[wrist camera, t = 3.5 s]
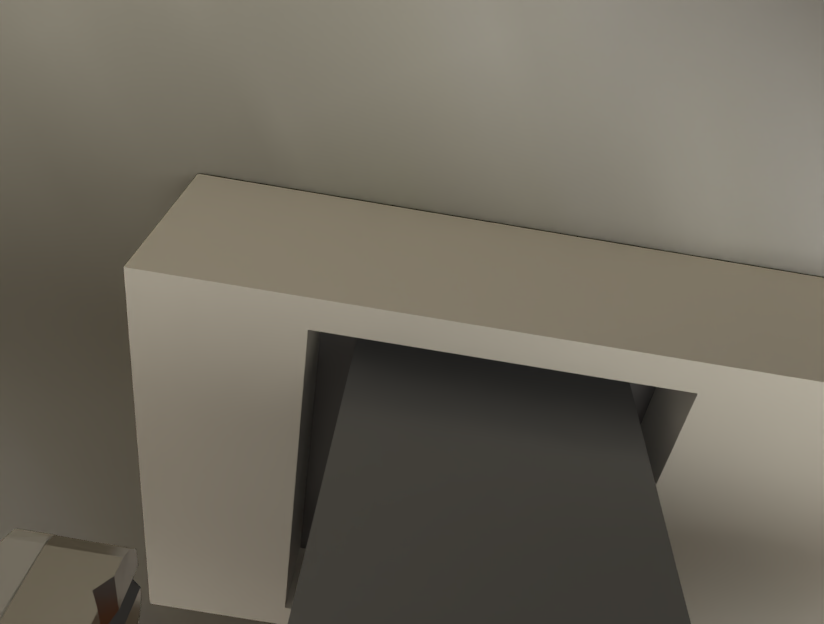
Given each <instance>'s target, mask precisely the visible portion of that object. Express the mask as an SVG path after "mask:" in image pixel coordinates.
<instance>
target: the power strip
mask: <svg viewBox="0 0 824 624" xmlns="http://www.w3.org/2000/svg"><path fill="white" fill-rule="evenodd" d="M124 279H125V291H126V304H127V317H128V330H129V342H130V355H131V368H132V381H133V393H134V406H135V419H136V432H137V445H138V457H139V470H140V483H141V496H142V508H143V521H144V534H145V547H146V559H147V572H148V585H149V598H150V604H156V605H162V606H168V607H175V608H181V609H187V610H194V611H200V612H206V613H212V614H219V615H225V616H231V617H237V618H244V619H250V620H256V621H263V622H269V623H275V624H288V620H289V616H290V612H291V608H292V604H293V600H294V596H295V591H296V587H297V583H298V579H299V575H300V571H301V567H302V563H303V559H304V554H305V550H306V546H307V542H308V538H309V534H310V530H311V526H312V522H313V517H314V513H315V509H316V505H317V501H318V497H319V493H320V489H321V484H322V480H323V476H324V472H325V468H326V464H327V460H328V456H329V452H330V447H331V443H332V439H333V435H334V431H335V427H336V423H337V419H338V415H339V410H340V406H341V402H342V398H343V394H344V390H345V386H346V382H347V378H348V373H349V369H350V365H351V361H352V357H353V353H354V349H355V345H356V341H357V338H362V339H368V340H374V341H380V342H386V343H393V344H399V345H405V346H411V347H417V348H423V349H429V350H435V351H441V352H447V353H453V354H460V355H466V356H472V357H478V358H484V359H490V360H496V361H502V362H508V363H514V364H520V365H527V366H533V367H539V368H545V369H551V370H557V371H563V372H569V373H575V374H581V375H587V376H594V377H600V378H606V379H612V380H618V381H624V382H630V386H631V390H632V394H633V398H634V402H635V406H636V410H637V414H638V418H639V422H640V426H641V429H642V433H643V437H644V441H645V445H646V449H647V453H648V457H649V461H650V465H651V469H652V473H653V477H654V481H655V485H656V488H657V492H658V496H659V500H660V504H661V508H662V512H663V516H664V520H665V524H666V528H667V532H668V536H669V540H670V543H671V547H672V551H673V555H674V559H675V563H676V567H677V571H678V575H679V579H680V583H681V587H682V591H683V595H684V599H685V602H686V606H687V610H688V614H689V618H690V622H691V624H824V278H822V277H816V276H810V275H804V274H798V273H792V272H786V271H780V270H774V269H768V268H762V267H756V266H750V265H744V264H738V263H732V262H726V261H719V260H713V259H707V258H701V257H695V256H689V255H683V254H677V253H671V252H665V251H659V250H653V249H647V248H641V247H635V246H629V245H623V244H617V243H611V242H605V241H599V240H593V239H587V238H581V237H575V236H569V235H563V234H557V233H551V232H545V231H539V230H533V229H527V228H521V227H515V226H509V225H503V224H497V223H491V222H485V221H479V220H473V219H467V218H461V217H455V216H449V215H443V214H437V213H431V212H425V211H419V210H413V209H407V208H401V207H395V206H389V205H383V204H377V203H371V202H365V201H359V200H353V199H347V198H341V197H335V196H329V195H323V194H317V193H311V192H305V191H299V190H293V189H287V188H281V187H275V186H269V185H263V184H257V183H251V182H245V181H239V180H233V179H227V178H221V177H215V176H209V175H203V174H197V175H196V177H195V178H194V179H193V180H192V182H191V183H190V184H189V185H188V187H187V188H186V189H185V190H184V192H183V193H182V194H181V196H180V197H179V198H178V199H177V201H176V202H175V203H174V204H173V206H172V207H171V208H170V209H169V211H168V212H167V213H166V214H165V216H164V217H163V218H162V219H161V221H160V222H159V223H158V224H157V226H156V227H155V228H154V229H153V231H152V232H151V233H150V234H149V236H148V237H147V238H146V240H145V241H144V242H143V243H142V245H141V246H140V247H139V248H138V250H137V251H136V252H135V253H134V255H133V256H132V257H131V258H130V260H129V261H128V262H127V263H126V265H125V266H124Z"/></svg>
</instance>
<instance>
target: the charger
mask: <svg viewBox="0 0 824 624" xmlns="http://www.w3.org/2000/svg"><path fill="white" fill-rule="evenodd" d="M288 624H691V622H690V618H689V614H688V610H687V606H686V602H685V599H684V595H683V591H682V587H681V583H680V579H679V575H678V571H677V567H676V563H675V559H674V555H673V551H672V547H671V543H670V540H669V536H668V532H667V528H666V524H665V520H664V516H663V512H662V508H661V504H660V500H659V496H658V492H657V488H656V485H655V481H654V477H653V473H652V469H651V465H650V461H649V457H648V453H647V449H646V445H645V441H644V437H643V433H642V429H641V426H640V422H639V418H638V414H637V410H636V406H635V402H634V398H633V394H632V390H631V386H630V382H624V381H618V380H612V379H606V378H600V377H594V376H587V375H581V374H575V373H569V372H563V371H557V370H551V369H545V368H539V367H533V366H527V365H520V364H514V363H508V362H502V361H496V360H490V359H484V358H478V357H472V356H466V355H460V354H453V353H447V352H441V351H435V350H429V349H423V348H417V347H411V346H405V345H399V344H393V343H386V342H380V341H374V340H368V339H362V338H357V341H356V345H355V349H354V353H353V357H352V361H351V365H350V369H349V373H348V378H347V382H346V386H345V390H344V394H343V398H342V402H341V406H340V410H339V415H338V419H337V423H336V427H335V431H334V435H333V439H332V443H331V447H330V452H329V456H328V460H327V464H326V468H325V472H324V476H323V480H322V484H321V489H320V493H319V497H318V501H317V505H316V509H315V513H314V517H313V522H312V526H311V530H310V534H309V538H308V542H307V546H306V550H305V554H304V559H303V563H302V567H301V571H300V575H299V579H298V583H297V587H296V591H295V596H294V600H293V604H292V608H291V612H290V616H289V620H288Z"/></svg>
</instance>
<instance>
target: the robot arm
mask: <svg viewBox="0 0 824 624" xmlns="http://www.w3.org/2000/svg"><path fill="white" fill-rule="evenodd" d="M137 568H138V559H137V552H136V549H134V548H128V547H122V546H116V545H110V544H105V543H99V542H93V541H87V540H81V539H75V538H69V537H63V536H58V535H54V534H47V533H41V532H34V531H28V530H21V529H14V530H13V531H12V532H11V533H10V534H8V535H7V536H6V537H5V538H4V539H3V540H2V541H1V542H0V624H138V621H139V617H140V609H141V587H140V586H139V585H138V584H137V583H136V582H135V581H134V580H133V577H134V574H135V572H136V570H137Z"/></svg>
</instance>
